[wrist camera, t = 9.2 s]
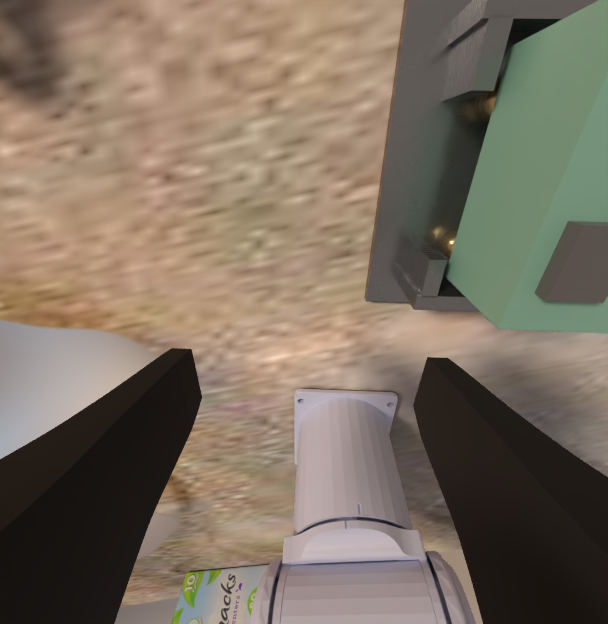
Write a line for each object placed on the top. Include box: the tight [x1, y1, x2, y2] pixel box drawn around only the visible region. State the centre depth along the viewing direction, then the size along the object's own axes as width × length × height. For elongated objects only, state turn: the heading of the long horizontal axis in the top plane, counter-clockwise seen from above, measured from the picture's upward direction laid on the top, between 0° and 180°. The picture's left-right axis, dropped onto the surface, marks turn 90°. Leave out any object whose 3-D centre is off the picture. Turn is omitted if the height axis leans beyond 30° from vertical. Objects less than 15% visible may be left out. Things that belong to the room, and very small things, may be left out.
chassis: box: [365, 0, 598, 312], centre depth 13 cm, size 14×11×4 cm
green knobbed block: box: [445, 0, 608, 333], centre depth 10 cm, size 9×4×6 cm, turn 179°
